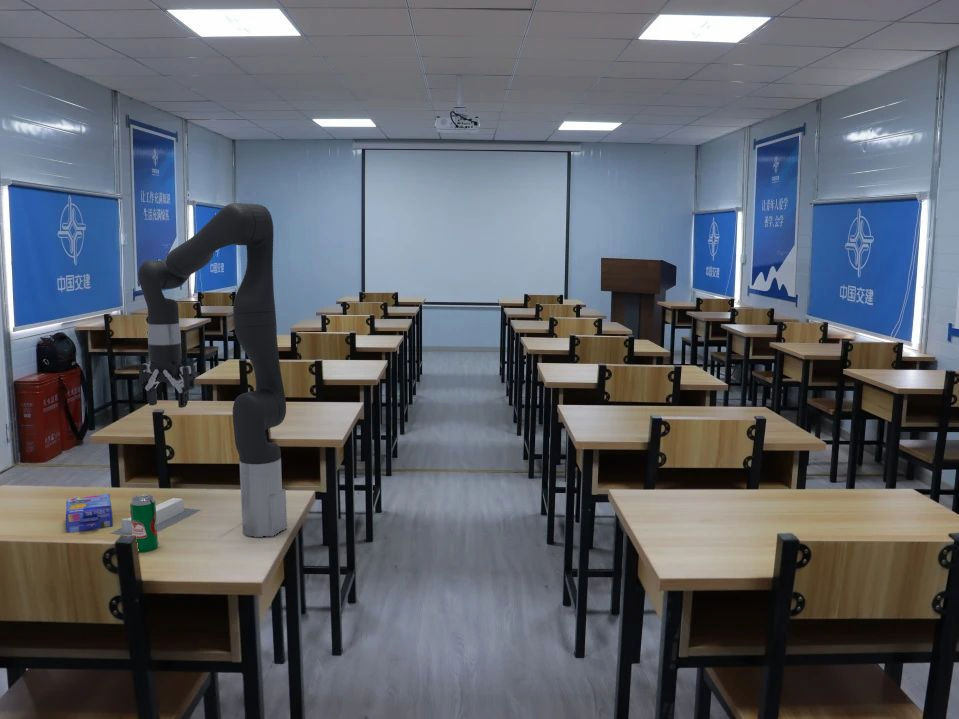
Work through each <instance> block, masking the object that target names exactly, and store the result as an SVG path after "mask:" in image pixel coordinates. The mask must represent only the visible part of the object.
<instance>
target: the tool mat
mask: <svg viewBox="0 0 959 719" xmlns="http://www.w3.org/2000/svg"><path fill="white" fill-rule="evenodd" d="M200 511H201V509H195V508H187V507H184V512H182V513H180V514H177V515H175V516H173V517H171V518H169V519H167V520H165V521H163V522H161V523H159V524H157V533H159V532H161V531H163V530H165V529H167V528H168V527H171V526H173V525H175V524H177V523H179V522H181V521H182V520H185V519H187V518H189V517H190V516H192V515H194V514H196V513H198V512H200ZM109 534H111V535H119V536H125V535H132V534H127V533H122V527H120V528H118V529H116V530H114V531H112V532H111V531H110V533H109Z"/></svg>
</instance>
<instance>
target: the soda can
mask: <svg viewBox="0 0 959 719" xmlns="http://www.w3.org/2000/svg"><path fill="white" fill-rule="evenodd" d="M129 504H130V505H129V508H130V517H131V523H132V535H136V536H137V543H138V549H139V552H138V553H147V552H152V551H155V550H156V549H158V548H159V539H158V538H159V537H158V532H157V518H156V505H157V503H156V499H155V498H154V495H152V494H140V495H136V496H133V497H132V498H131V502H130V503H129Z"/></svg>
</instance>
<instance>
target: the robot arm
mask: <svg viewBox="0 0 959 719" xmlns="http://www.w3.org/2000/svg"><path fill="white" fill-rule="evenodd" d="M274 235H275V234H274V222H273V217H272V215H271V212H270V211H269V210H268V208H267V207H266V206H265V205H263V204H259V203H258V204H257V203H241V202H234V203H228V204H226V205H225V206H223V207H222V208H221V209H220V210H219V211H218V212H216V214H215V215H214V216H213V217H212V218H211V219H210V220H209V221H208V222H207V223H206V224H205V225H204V226H203V227H201V229H200V230H199V231H198V232H197V233H195V234H193V236H192V237H190V238H189V239H188V240H186V241H185V242H184V241H183V243H181V244H180V245H178V246H175V247H174V249H172V250H171V251H170V252H168V254H167V255H166V257H165V259H161V260H160V259H159V260H158V259H157V260H151V259H150V260H145V261H144V262H143V263H141V265H140V266H139V268H138V274H137V278H138V283H139V286H140V289H141V291H142V294H143V298H144V300H145V304H146V307H147V323H148V324H147V326H148V328H147V344H148V345H147V346H148V360H149V361H150V363H149V362H146V363H140V364H139V365H138V377H139V378H138V379H139V380H138V387H139V388H141V389H142V388H143V389H145V390H146V395H147V397H146V398H147V399H146V400H147V403H148V405H149V406H151V407H152V406H156V405H157V404H158V396H157V394H158V392H157V387H158V385H159V384H160V383H166V384H171V385H172V387H174V388H175V389H176V391H177V392H178V393H177V402H178V403H177V404H178V408H179V409H183V408H185V407H187V405H188V400H189V399H188V393H189V391H191V390H194V389H195V378H194V367H193V365H186V366H182V363H181V361H182V359H183V358H182V339H181V337H182V336H181V334H182V333H181V328H180V318H179V313H180V312H179V304H178V302H177V300H175V299H172V298H166V297H165V295H164V293H163V291H162V290H170V289H173V290H174V289H176V288H179V287H182V286H183V285H184V284H186V282H187V280H188V279H189V278H190V276H192V275H193V274H194V273H196V272H198V271H200V270H201V269H203V268H204V267H205V266H207V265H208V264H209V263H210V261H211V260H212V259H213V256H214V253H215V252H216V251H218V250H220V249H222V248H226V247H228V246H233V245H235V246H246V269H245V272H244V276H243V279H242V280H241V282H240V285H239V287H238V289H237V291H236V295H235V297H234V301H233V305H232V306H233V307H232V310H233V313H232V314H233V324H234V325H233V326H234V333H235V337H236V339H237V341H238V343H239V345H240V346H241V348H242V350H243V351H244V352H245V354H246V356H247V357H248V359H249V360H250V362H251V364H252V367H253V372H254V377H255V387H256V388H255V390H253V391H249V392H244V393H241V394H239V395H238V396H237V397H236V398H235V399H234V402H233V406H232V425H233V434H234V435H233V436H234V443H235V448H236V451H237V453H238V456H239V457H238V458H239V480H240V481H239V484H240V503H241V505H240V506H241V525H242V533H244V534H243V535H244V536H247V535H248V536H247V537H250V536H254V537H253V538H264V537H263V536H266V537H275V536H276V534H277V533H278V534H280V533H281V532H283V531H284V530H286V529H287V528H288V521H287V520H288V519H287V517H288V516H287V492H286V488H283V485H282V484H283V483H282V481H283V480H282V458H281V457H282V455H281V454H282V453H281V451H282V450H281V447H280V446H279V444H277V443H273V442H269V441H268V440H267V435H266V430H268V429H272V428H275V427H278V426H279V425H281V424H282V423H283V422H284V421H285V419H286V414H287V402H286V401H287V400H286V395H285V388H284V383H283V377H282V372H281V364H280V356H279V355H280V354H279V347H278V346H279V345H278V335H277V334H278V331H277V329H278V328H277V315H276V314H277V313H276V312H277V311H276V305H275V304H276V303H275V292H274V291H275V290H274V270H273V269H274V266H273V265H274V264H273V262H274ZM150 373H152V374H151V375H150ZM286 527H287V528H286ZM285 528H286V529H285ZM282 530H283V531H282ZM280 531H281V532H280ZM279 532H280V533H279ZM278 534H277V535H278ZM274 535H275V536H274Z"/></svg>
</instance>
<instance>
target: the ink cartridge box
mask: <svg viewBox="0 0 959 719" xmlns="http://www.w3.org/2000/svg"><path fill="white" fill-rule="evenodd" d="M65 504H66V505H65V509H66V510H65V527H66V528H65V529H66V534H67V533H68V534H70V533H76V532H77V533H78V532H84V531H90V530H97V529H104V528H110V527H111V528H112V527H113V522H114V521H113V507H112V501H111V494H110V493H103V494H94V495H86V496H78V497H69V498H67V499H66V502H65Z"/></svg>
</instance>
